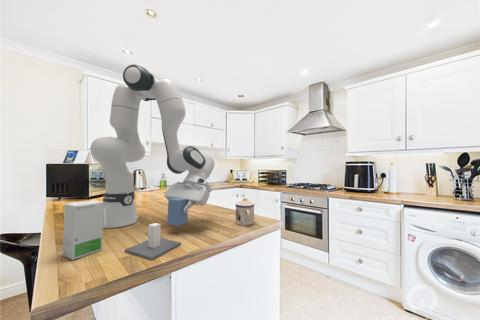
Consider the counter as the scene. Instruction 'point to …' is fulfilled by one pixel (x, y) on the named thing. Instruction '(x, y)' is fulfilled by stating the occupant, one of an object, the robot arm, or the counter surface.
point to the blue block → (177, 211)
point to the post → (153, 244)
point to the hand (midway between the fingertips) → (176, 210)
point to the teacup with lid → (244, 212)
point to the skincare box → (82, 229)
